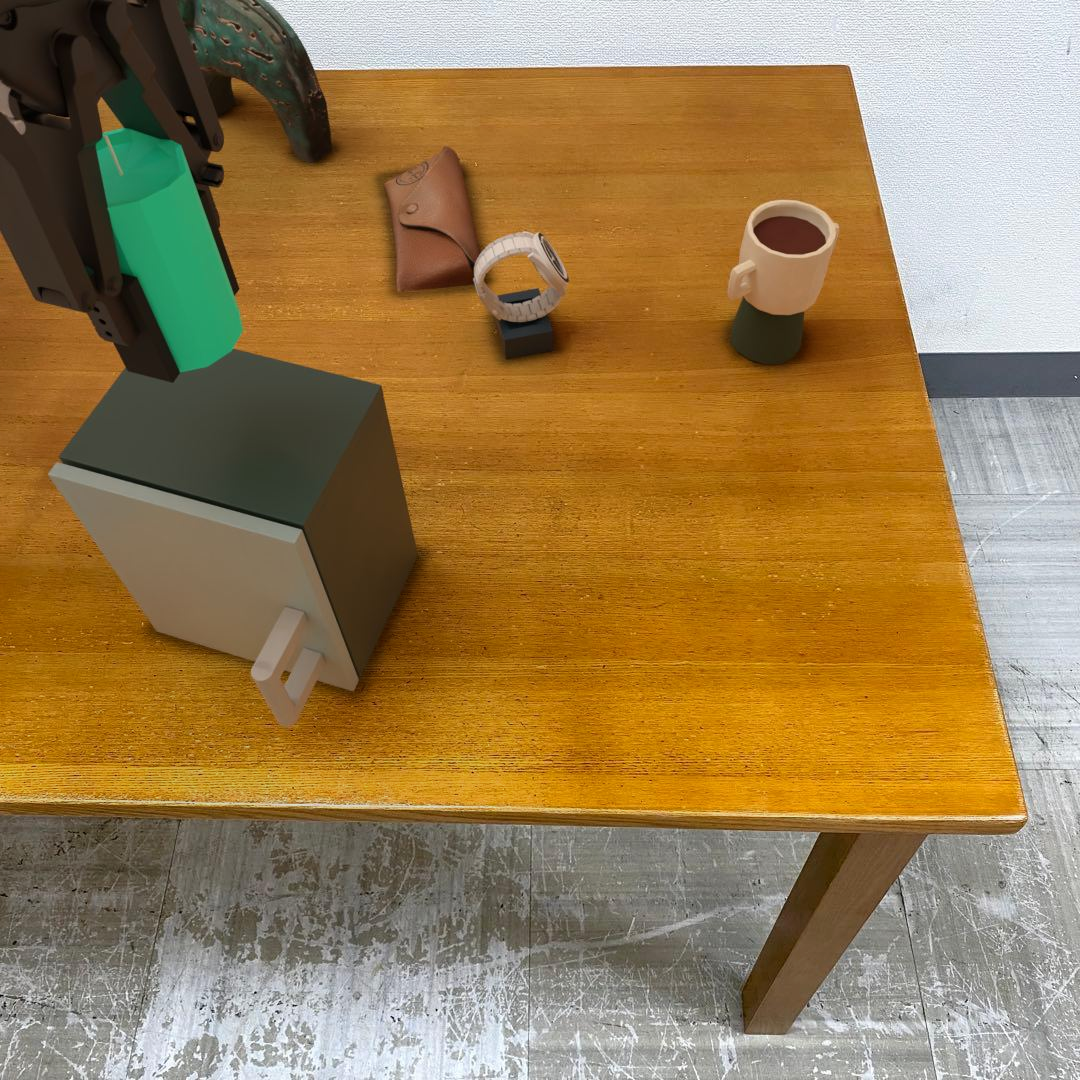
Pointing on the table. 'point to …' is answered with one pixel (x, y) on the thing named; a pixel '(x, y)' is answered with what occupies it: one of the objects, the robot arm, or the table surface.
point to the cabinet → (272, 467)
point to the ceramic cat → (259, 66)
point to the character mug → (779, 277)
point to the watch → (523, 294)
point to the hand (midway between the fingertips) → (185, 328)
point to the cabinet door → (218, 582)
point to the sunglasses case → (432, 225)
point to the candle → (168, 245)
